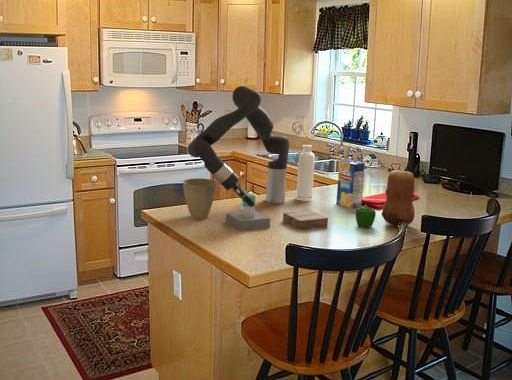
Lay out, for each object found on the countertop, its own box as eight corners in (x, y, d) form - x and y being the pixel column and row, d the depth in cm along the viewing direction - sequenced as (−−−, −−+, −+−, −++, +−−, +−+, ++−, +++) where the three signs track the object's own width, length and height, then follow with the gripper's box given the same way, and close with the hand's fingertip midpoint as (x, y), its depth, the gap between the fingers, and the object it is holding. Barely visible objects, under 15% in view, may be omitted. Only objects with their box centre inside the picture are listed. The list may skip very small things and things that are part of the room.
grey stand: (225, 221, 251) (226, 212, 251) (254, 218, 258) (254, 210, 257) (240, 230, 239) (240, 221, 239) (269, 227, 246) (270, 218, 245)
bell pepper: (360, 222, 259) (362, 201, 257) (377, 226, 254) (379, 204, 252) (351, 226, 253) (352, 204, 250) (367, 230, 248) (369, 207, 245)
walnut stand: (283, 221, 256) (283, 212, 255) (309, 218, 262) (310, 210, 261) (299, 230, 244) (300, 220, 243) (327, 227, 250) (328, 218, 249)
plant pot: (178, 213, 261) (179, 178, 258) (210, 211, 267) (211, 177, 263) (186, 222, 248) (187, 186, 244) (220, 220, 253) (221, 184, 250)
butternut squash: (407, 222, 264) (413, 168, 258) (416, 230, 251) (422, 173, 245) (377, 221, 263) (382, 167, 258) (385, 229, 250) (390, 172, 245)
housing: (242, 217, 245) (243, 196, 243) (241, 213, 250) (242, 193, 248) (254, 217, 246) (255, 196, 244) (252, 213, 251) (253, 193, 249)
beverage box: (351, 208, 284) (355, 164, 279) (336, 203, 293) (339, 160, 288) (361, 207, 288) (365, 163, 283) (346, 202, 297) (349, 159, 292)
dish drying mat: (419, 199, 312) (420, 192, 311) (378, 211, 283) (378, 203, 282) (394, 194, 323) (394, 187, 322) (351, 204, 294) (352, 197, 293)
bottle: (312, 201, 295) (316, 146, 289) (296, 200, 295) (299, 146, 289) (311, 197, 303) (314, 144, 297) (295, 197, 303) (299, 143, 297)
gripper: (233, 173, 236) (260, 201, 240) (230, 167, 249) (255, 193, 253) (220, 186, 236) (247, 213, 240) (217, 178, 250) (243, 204, 254)
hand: (251, 203), depth 247 cm, fingers open, 8 cm apart
